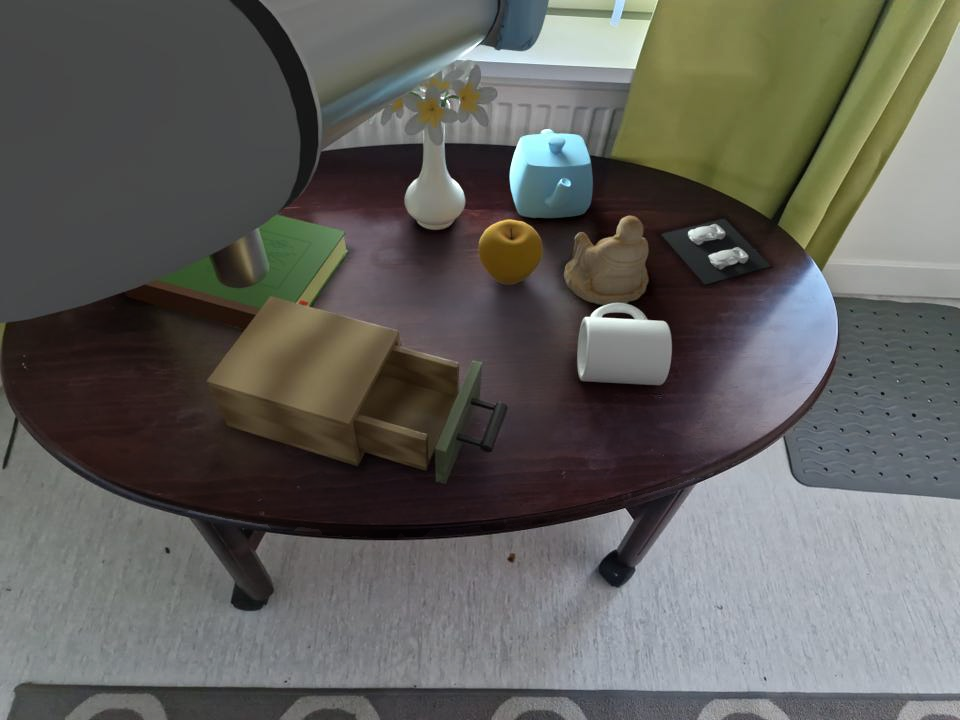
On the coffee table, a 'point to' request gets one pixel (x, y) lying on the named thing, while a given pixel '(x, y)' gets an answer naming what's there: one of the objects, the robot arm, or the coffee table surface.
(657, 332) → the mug
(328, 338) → the cabinet
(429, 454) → the drawer
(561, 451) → the coffee table surface
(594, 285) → the statue
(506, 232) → the apple
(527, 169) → the teapot
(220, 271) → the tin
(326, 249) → the book
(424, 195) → the flower vase
